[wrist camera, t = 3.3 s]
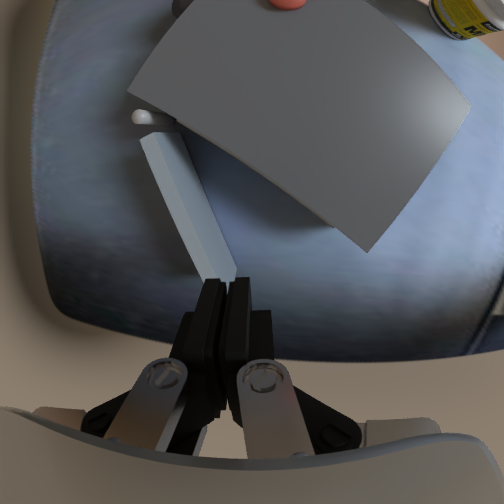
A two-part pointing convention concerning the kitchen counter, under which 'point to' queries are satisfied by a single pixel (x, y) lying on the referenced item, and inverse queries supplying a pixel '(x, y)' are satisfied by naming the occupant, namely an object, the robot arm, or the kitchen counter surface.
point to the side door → (189, 205)
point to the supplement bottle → (468, 17)
